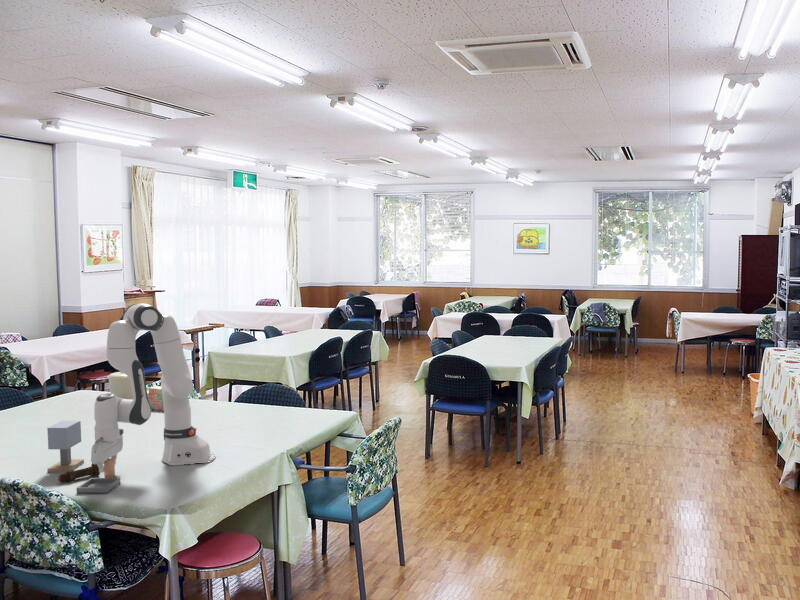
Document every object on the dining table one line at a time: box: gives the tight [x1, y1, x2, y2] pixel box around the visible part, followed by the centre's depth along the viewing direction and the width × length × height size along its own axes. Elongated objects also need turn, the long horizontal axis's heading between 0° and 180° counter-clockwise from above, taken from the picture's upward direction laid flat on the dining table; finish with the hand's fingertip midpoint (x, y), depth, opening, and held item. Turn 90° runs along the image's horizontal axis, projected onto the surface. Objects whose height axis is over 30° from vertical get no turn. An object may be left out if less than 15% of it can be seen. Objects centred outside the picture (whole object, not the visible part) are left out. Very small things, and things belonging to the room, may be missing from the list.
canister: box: [106, 371, 133, 400], centre depth 427 cm, size 18×18×21 cm
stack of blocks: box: [147, 385, 164, 411], centre depth 413 cm, size 21×6×12 cm, turn 70°
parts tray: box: [76, 477, 121, 495], centre depth 275 cm, size 12×12×2 cm
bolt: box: [57, 463, 101, 483], centre depth 287 cm, size 6×5×15 cm
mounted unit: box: [46, 420, 85, 473], centre depth 301 cm, size 10×13×18 cm
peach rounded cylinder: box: [103, 457, 116, 478], centre depth 289 cm, size 4×4×7 cm
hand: (107, 468), depth 289 cm, fingers open, 8 cm apart
